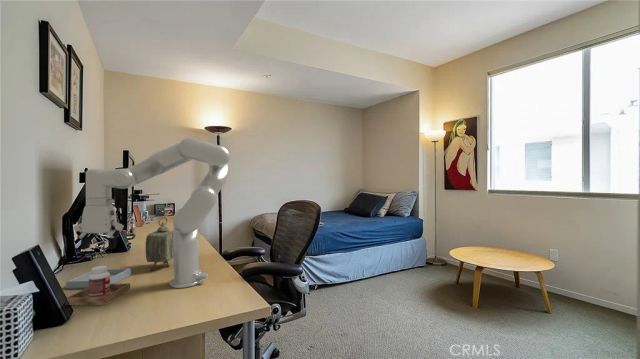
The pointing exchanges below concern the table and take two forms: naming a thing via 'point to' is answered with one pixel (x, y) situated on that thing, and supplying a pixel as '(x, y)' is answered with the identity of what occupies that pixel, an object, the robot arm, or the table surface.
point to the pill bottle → (99, 282)
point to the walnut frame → (82, 300)
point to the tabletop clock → (160, 245)
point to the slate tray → (83, 280)
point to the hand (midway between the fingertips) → (99, 248)
